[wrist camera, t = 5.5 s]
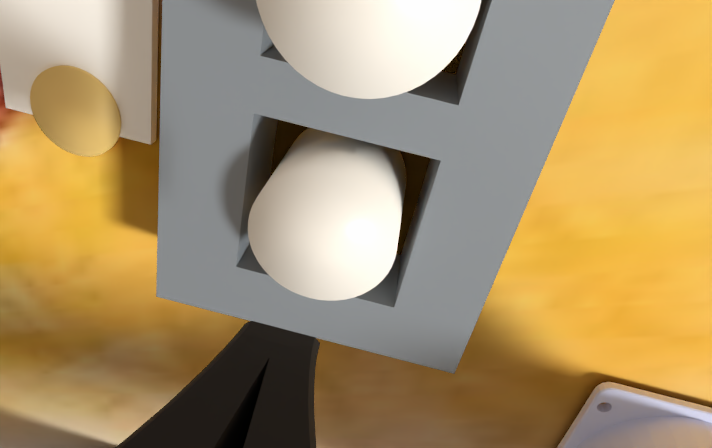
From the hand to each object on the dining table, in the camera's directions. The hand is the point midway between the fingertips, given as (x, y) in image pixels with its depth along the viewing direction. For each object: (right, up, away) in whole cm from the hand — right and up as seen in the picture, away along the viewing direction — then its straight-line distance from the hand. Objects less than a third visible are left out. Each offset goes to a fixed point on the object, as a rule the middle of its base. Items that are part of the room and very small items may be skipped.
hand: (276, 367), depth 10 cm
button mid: (+2, +9, +3) cm, 9 cm away
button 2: (+1, +4, +7) cm, 9 cm away
